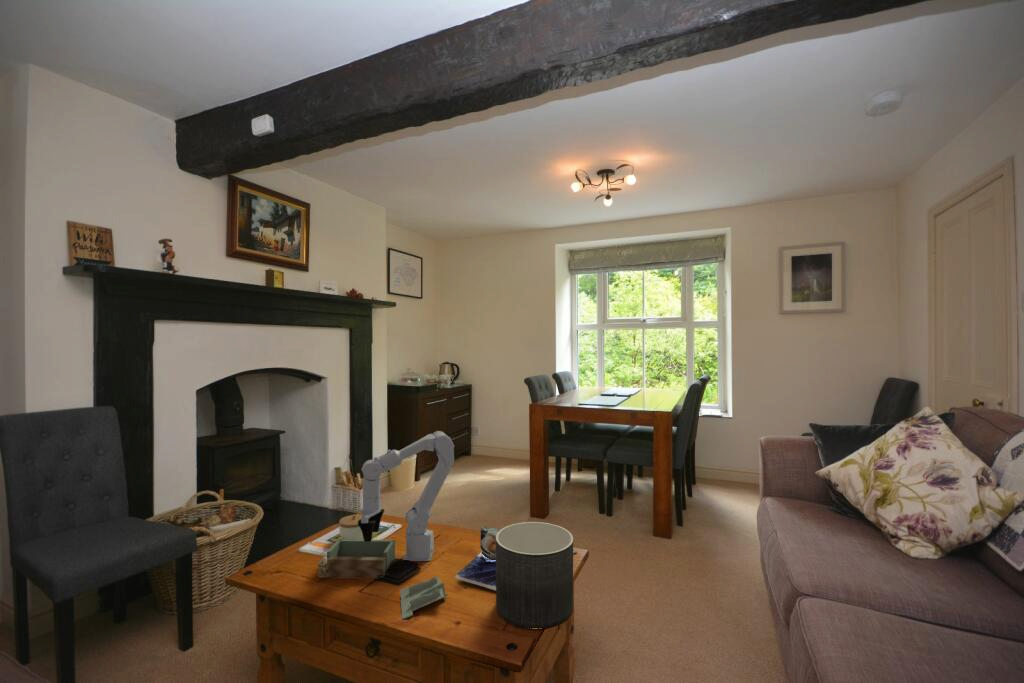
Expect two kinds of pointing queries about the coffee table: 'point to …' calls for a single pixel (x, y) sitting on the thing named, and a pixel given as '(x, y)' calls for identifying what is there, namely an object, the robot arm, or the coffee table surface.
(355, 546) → the sage green open box
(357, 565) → the brown gear-headed lever
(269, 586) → the coffee table surface
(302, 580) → the coffee table surface
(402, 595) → the metal bracket
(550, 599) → the planter
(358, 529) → the lidded jar
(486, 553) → the lucky cat figurine
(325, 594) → the coffee table surface
